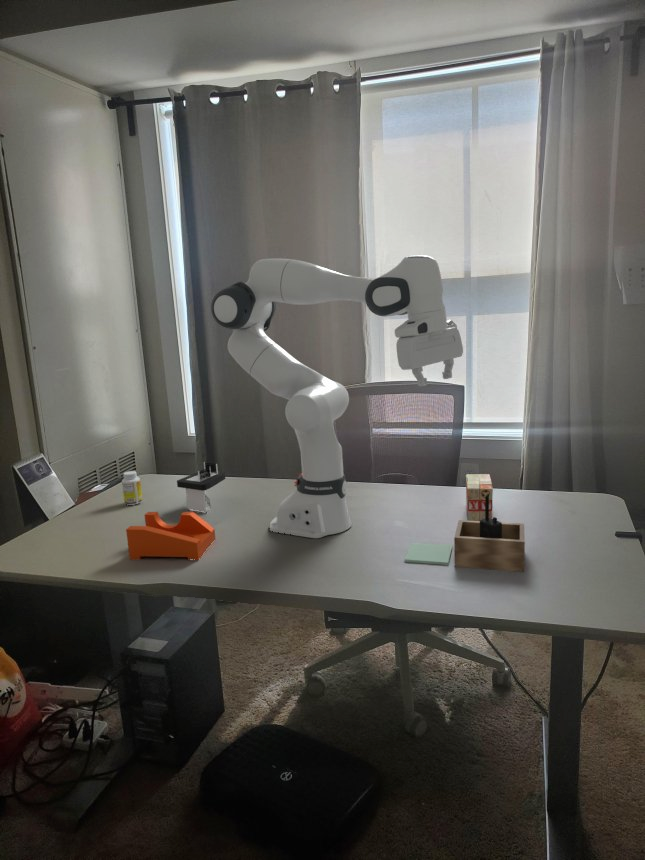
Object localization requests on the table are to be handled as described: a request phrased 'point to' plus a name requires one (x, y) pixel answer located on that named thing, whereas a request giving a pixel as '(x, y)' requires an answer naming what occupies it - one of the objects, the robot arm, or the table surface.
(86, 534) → the table surface
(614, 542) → the table surface
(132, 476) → the supplement bottle
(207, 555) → the table surface
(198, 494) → the black-topped pedestal
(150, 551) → the orange cradle stand
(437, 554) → the place mat
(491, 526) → the walkie-talkie
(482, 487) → the stack of blocks
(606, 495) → the table surface
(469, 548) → the access box
